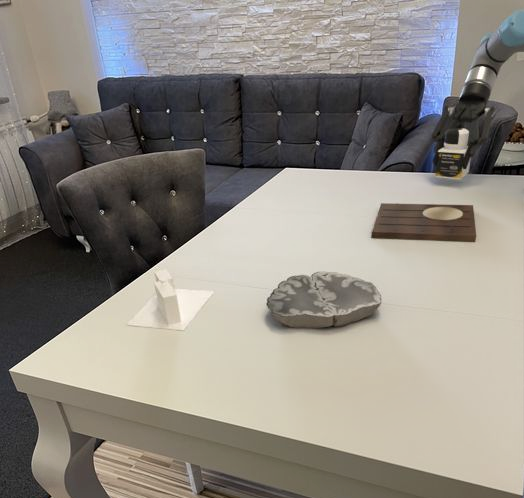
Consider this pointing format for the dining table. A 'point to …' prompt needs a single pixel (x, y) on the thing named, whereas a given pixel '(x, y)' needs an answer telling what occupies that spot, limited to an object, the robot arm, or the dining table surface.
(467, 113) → the robot arm
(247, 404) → the dining table surface
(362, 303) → the brain slice
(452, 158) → the medicine bottle
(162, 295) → the napkin holder
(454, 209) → the board
